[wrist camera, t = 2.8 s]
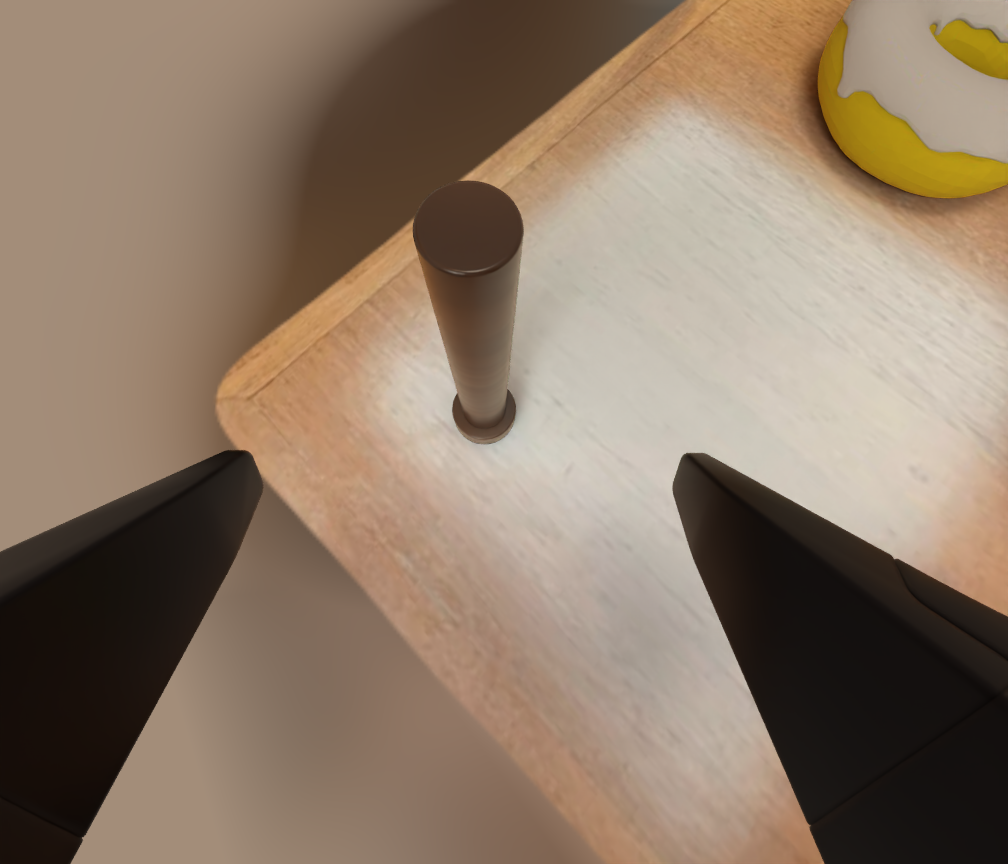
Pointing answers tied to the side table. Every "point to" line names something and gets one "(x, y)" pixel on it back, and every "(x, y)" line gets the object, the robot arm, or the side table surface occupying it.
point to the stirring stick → (474, 297)
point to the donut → (921, 93)
